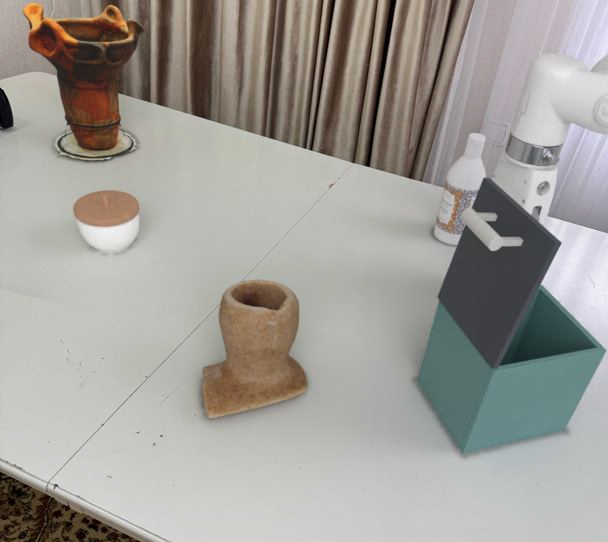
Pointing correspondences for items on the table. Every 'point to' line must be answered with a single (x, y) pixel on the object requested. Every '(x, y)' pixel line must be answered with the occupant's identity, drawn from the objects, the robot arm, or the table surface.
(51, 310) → the table surface
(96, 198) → the trinket box
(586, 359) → the teal storage box
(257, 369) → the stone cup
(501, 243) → the dark gray box lid
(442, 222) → the bath foam
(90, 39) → the decorative vase
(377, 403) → the table surface
